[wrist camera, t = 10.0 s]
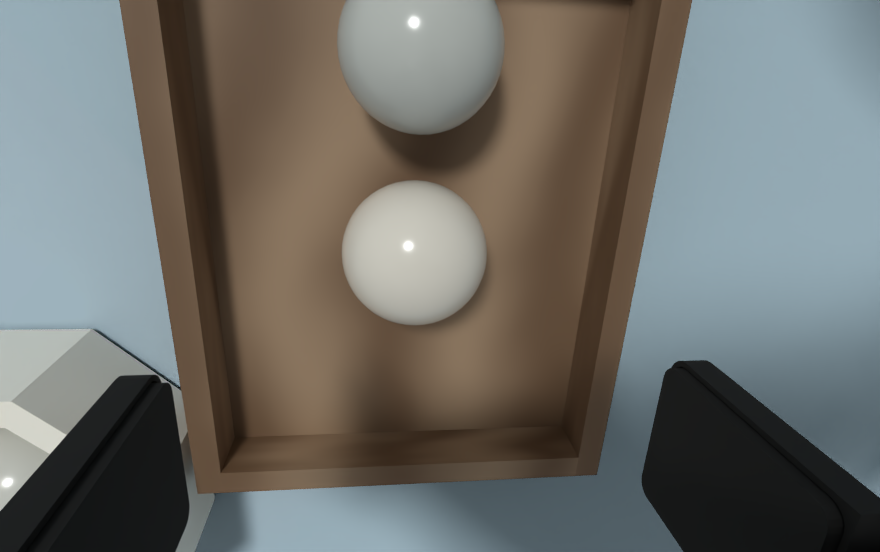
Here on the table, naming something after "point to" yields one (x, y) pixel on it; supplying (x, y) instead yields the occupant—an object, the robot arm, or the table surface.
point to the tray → (337, 197)
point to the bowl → (77, 396)
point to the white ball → (16, 463)
